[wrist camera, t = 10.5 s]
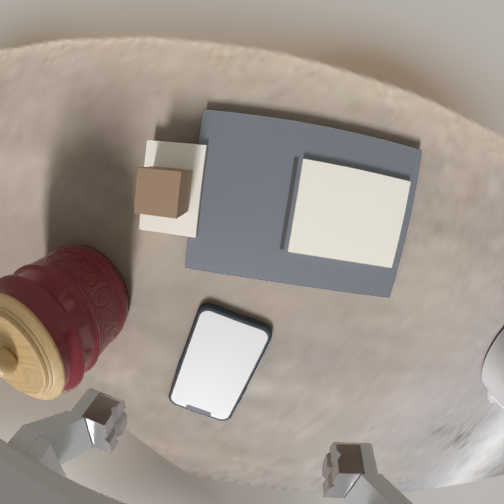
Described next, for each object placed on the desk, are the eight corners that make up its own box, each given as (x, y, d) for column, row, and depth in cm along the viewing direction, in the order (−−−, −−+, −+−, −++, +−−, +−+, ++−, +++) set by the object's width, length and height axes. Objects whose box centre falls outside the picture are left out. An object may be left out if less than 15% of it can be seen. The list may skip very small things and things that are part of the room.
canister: (53, 326, 38) (-24, 398, 21) (42, 236, 34) (-61, 285, 17) (133, 348, 38) (69, 446, 21) (130, 249, 34) (31, 322, 17)
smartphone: (202, 297, 36) (168, 394, 40) (199, 302, 34) (165, 401, 38) (276, 324, 36) (229, 416, 40) (276, 331, 35) (228, 424, 39)
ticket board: (417, 150, 29) (424, 150, 28) (386, 294, 34) (391, 300, 32) (205, 110, 29) (201, 108, 28) (187, 264, 34) (183, 269, 32)
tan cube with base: (207, 145, 29) (196, 143, 25) (196, 236, 32) (185, 248, 28) (148, 140, 29) (130, 138, 25) (141, 228, 32) (122, 238, 28)
